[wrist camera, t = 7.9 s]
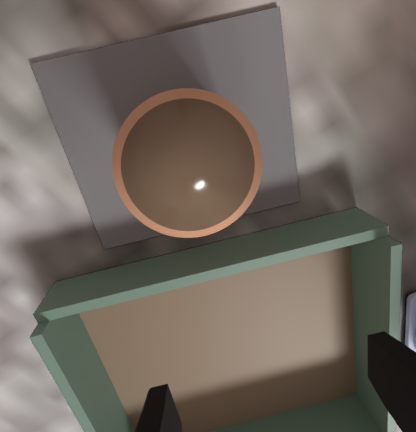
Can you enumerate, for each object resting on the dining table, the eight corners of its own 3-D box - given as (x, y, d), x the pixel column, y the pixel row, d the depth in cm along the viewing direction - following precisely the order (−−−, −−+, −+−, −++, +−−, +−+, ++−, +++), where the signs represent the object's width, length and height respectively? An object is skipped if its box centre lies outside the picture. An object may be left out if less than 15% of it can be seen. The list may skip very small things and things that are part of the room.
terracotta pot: (221, 83, 15) (250, 71, 9) (239, 181, 17) (271, 220, 11) (120, 106, 15) (88, 108, 9) (150, 202, 17) (137, 252, 11)
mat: (278, 7, 14) (279, 6, 14) (298, 200, 18) (300, 201, 18) (31, 64, 14) (30, 63, 14) (104, 247, 18) (104, 249, 17)
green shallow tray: (356, 207, 18) (418, 242, 14) (362, 394, 25) (405, 461, 20) (54, 281, 18) (13, 343, 13) (139, 452, 24) (131, 535, 20)
